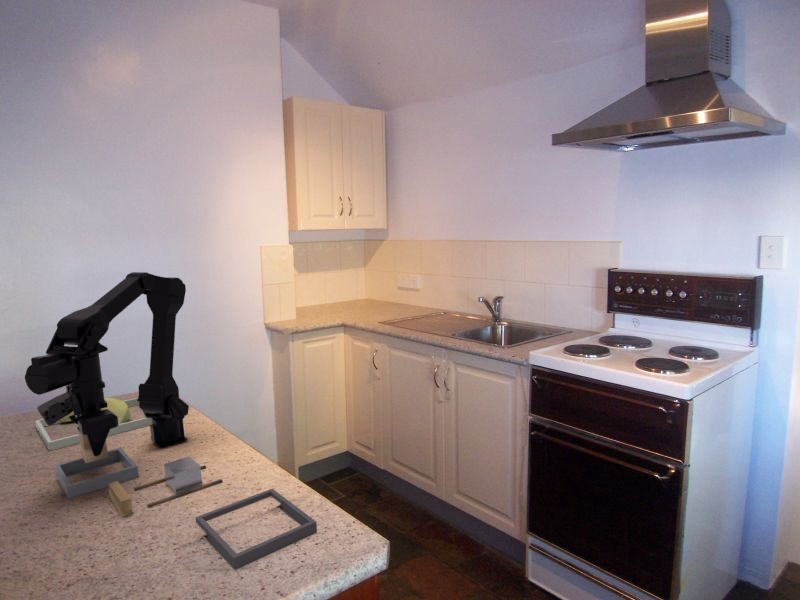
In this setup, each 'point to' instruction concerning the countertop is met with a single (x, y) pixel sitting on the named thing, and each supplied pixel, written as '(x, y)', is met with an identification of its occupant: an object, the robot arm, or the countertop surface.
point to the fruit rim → (75, 438)
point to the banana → (113, 405)
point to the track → (124, 500)
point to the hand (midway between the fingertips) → (94, 452)
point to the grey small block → (183, 474)
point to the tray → (99, 481)
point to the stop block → (87, 450)
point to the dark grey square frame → (265, 547)
